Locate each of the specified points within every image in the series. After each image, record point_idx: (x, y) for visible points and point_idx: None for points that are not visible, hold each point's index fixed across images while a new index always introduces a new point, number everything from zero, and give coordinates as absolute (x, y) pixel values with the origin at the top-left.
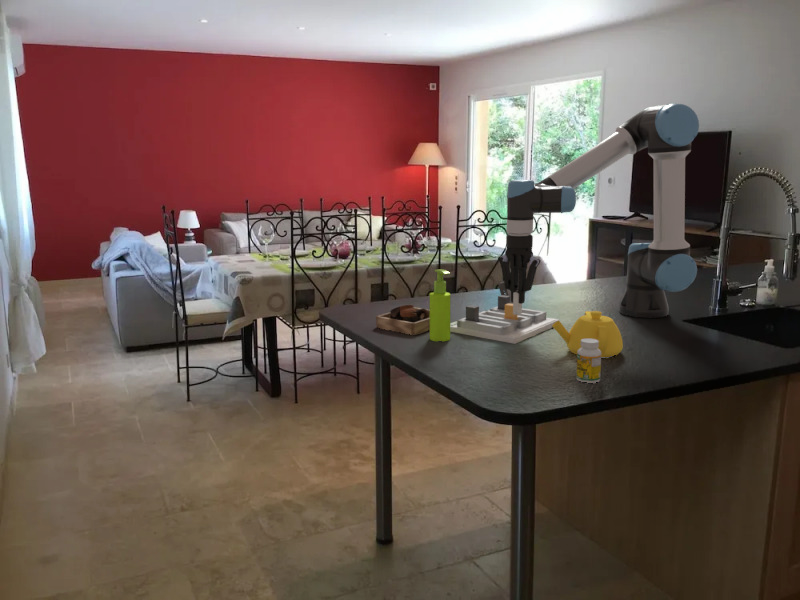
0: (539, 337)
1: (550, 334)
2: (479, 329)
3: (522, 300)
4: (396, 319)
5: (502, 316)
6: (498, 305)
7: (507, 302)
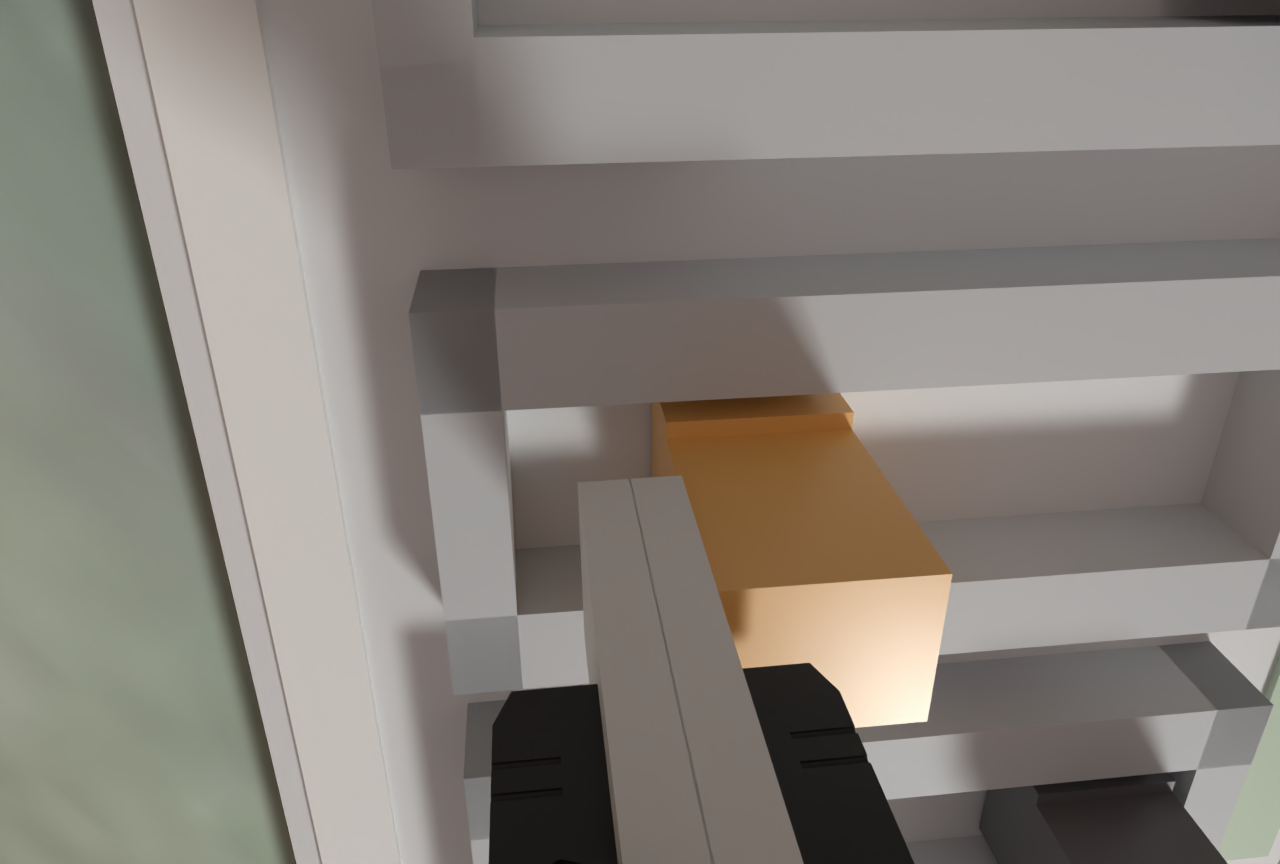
0: (48, 261)
1: (65, 511)
2: None
3: (493, 765)
4: None
5: (960, 560)
6: (1193, 835)
7: None
